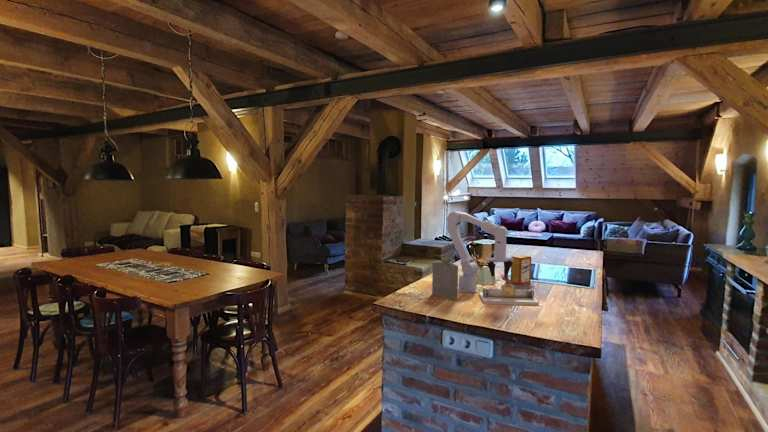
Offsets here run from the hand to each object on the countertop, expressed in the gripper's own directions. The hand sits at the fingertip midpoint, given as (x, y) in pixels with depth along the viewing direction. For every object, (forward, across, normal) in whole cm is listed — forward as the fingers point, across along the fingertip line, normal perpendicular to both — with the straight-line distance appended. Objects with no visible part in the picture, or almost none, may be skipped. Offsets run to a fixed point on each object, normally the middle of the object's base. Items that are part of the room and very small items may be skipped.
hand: (499, 275), depth 201 cm
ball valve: (+10, 0, -9) cm, 13 cm away
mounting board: (+10, 0, -9) cm, 13 cm away
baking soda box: (+10, +25, +20) cm, 34 cm away
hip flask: (+11, -29, +3) cm, 31 cm away
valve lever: (+2, +2, -4) cm, 5 cm away
